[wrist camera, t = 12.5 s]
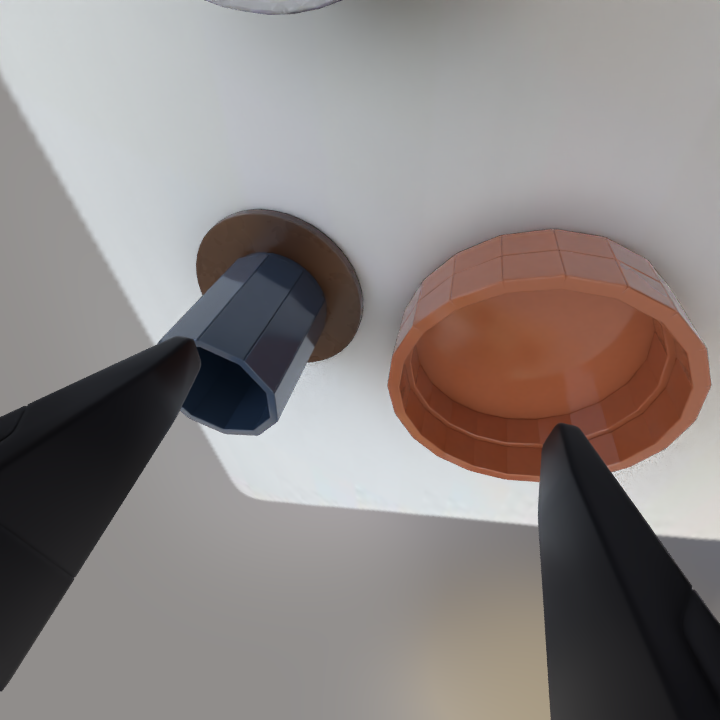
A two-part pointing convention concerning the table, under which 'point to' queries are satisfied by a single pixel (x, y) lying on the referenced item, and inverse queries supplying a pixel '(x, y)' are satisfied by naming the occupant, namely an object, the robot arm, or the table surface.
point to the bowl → (546, 354)
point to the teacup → (274, 5)
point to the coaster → (299, 245)
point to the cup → (251, 342)
